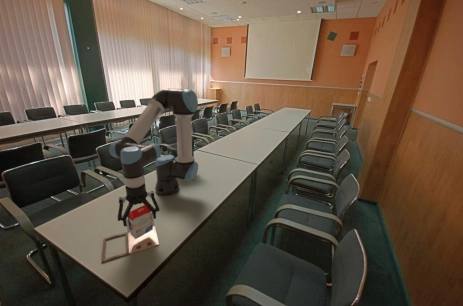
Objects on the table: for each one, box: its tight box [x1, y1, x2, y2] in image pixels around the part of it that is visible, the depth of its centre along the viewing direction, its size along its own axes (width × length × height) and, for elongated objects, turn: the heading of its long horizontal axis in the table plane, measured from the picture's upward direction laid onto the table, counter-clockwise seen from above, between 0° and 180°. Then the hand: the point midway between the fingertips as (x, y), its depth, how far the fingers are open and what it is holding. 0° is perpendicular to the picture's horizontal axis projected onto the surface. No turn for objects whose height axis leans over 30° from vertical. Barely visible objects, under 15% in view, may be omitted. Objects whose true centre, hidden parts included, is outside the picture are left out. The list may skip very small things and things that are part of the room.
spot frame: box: [101, 231, 130, 264], centre depth 90 cm, size 10×14×1 cm
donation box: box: [166, 136, 195, 158], centre depth 159 cm, size 16×16×28 cm
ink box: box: [127, 202, 153, 239], centre depth 91 cm, size 8×5×15 cm, turn 141°
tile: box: [128, 225, 160, 255], centre depth 95 cm, size 12×14×1 cm
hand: (141, 227), depth 93 cm, fingers closed on ink box, 9 cm apart
